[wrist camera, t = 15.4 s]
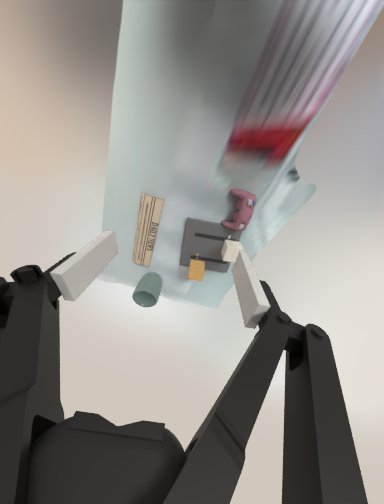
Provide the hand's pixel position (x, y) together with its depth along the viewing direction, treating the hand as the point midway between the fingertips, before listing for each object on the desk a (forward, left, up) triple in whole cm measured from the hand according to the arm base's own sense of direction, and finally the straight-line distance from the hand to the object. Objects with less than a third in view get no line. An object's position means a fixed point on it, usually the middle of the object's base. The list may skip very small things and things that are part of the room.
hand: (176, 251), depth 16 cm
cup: (+31, -10, -27) cm, 42 cm away
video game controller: (+1, +12, -27) cm, 30 cm away
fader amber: (+18, +5, -26) cm, 31 cm away
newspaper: (+13, -12, -28) cm, 33 cm away
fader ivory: (+10, +12, -26) cm, 30 cm away
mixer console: (+14, +7, -27) cm, 31 cm away
